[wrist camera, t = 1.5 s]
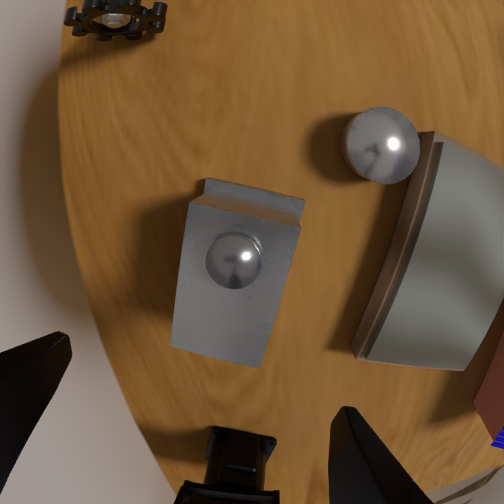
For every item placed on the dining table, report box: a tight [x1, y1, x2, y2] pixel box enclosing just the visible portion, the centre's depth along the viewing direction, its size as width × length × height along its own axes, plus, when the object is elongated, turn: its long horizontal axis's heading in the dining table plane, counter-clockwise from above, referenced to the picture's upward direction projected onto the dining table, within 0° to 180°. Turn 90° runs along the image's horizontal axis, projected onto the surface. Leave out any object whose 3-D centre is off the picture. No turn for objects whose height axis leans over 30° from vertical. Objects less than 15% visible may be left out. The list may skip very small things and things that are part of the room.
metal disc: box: [340, 107, 420, 184], centre depth 16 cm, size 4×4×2 cm
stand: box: [351, 131, 504, 371], centre depth 18 cm, size 16×11×2 cm
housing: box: [171, 177, 305, 368], centre depth 17 cm, size 9×6×7 cm, turn 168°
